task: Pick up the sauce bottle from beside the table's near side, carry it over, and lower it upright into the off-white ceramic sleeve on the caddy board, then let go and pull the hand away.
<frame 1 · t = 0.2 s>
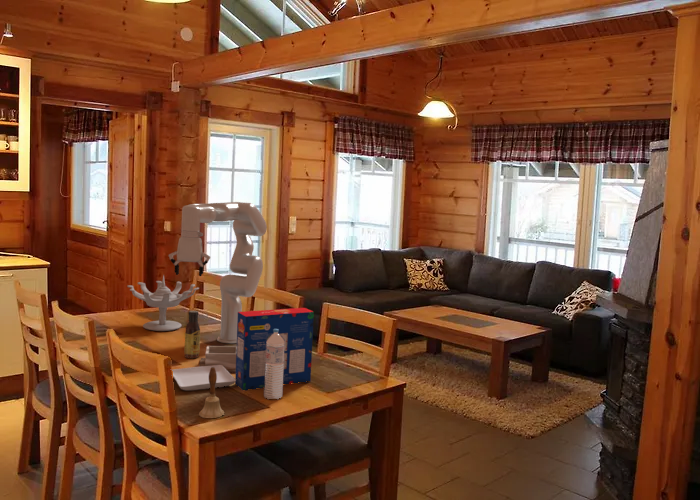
hand: (188, 275, 270), 35 cm above the table, tool pointing down, fingers open, 9 cm apart
blue cardboard box: (273, 383, 246), on the table
salad plate: (201, 383, 242), on the table, touching bottle caddy
hand bell: (211, 414, 211), on the table
sauce bottle: (191, 357, 274), on the table
candelabra: (162, 328, 322), on the table
water bottle: (273, 397, 230), on the table
bottle caddy: (221, 366, 263), on the table
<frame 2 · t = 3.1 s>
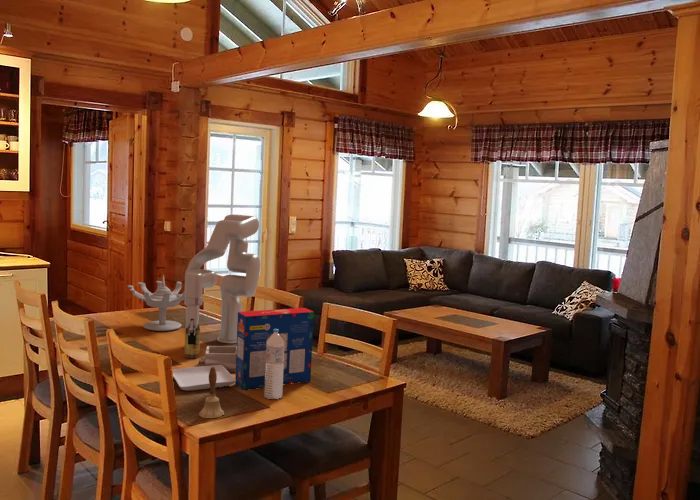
hand: (192, 341, 274), 7 cm above the table, tool pointing down, fingers closed on sauce bottle, 6 cm apart
salad plate: (201, 383, 242), on the table
sauce bottle: (191, 357, 274), on the table, touching gripper
everything else where it was.
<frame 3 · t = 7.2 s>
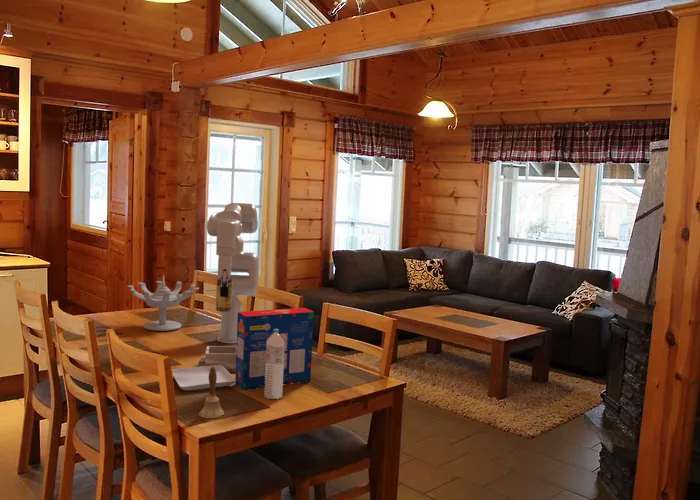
hand: (224, 294, 260), 30 cm above the table, tool pointing down, fingers closed on sauce bottle, 6 cm apart
sauce bottle: (223, 311, 260), point 23 cm above the table, touching gripper
everything else where it was.
when the fingers open (9 cm above the table, at t = 11.6 s): sauce bottle drops 1 cm, resting on bottle caddy.
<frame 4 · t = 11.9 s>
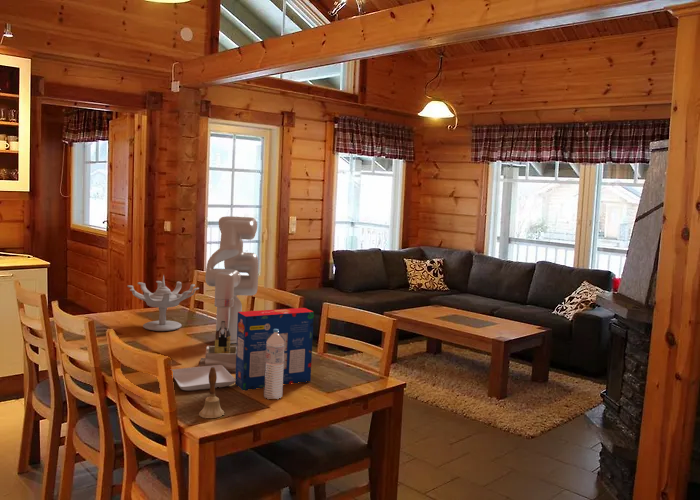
hand: (222, 343, 262), 10 cm above the table, tool pointing down, fingers open, 9 cm apart
sauce bottle: (221, 364, 263), point 1 cm above the table, touching bottle caddy
everything else where it was.
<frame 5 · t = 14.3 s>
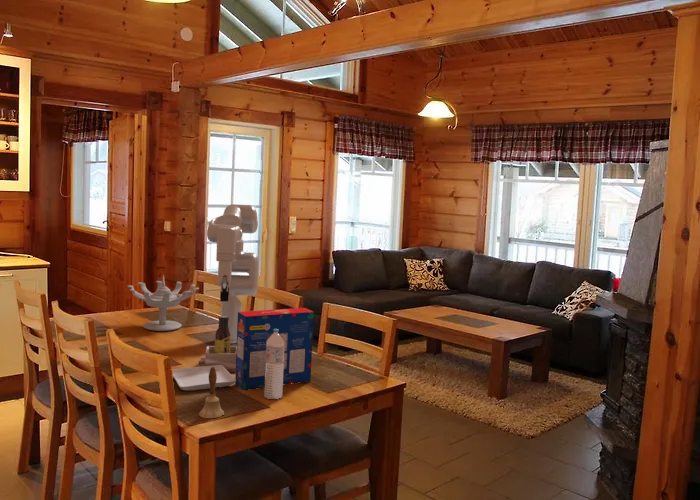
hand: (224, 298, 260), 28 cm above the table, tool pointing down, fingers open, 9 cm apart
nothing on the table moved.
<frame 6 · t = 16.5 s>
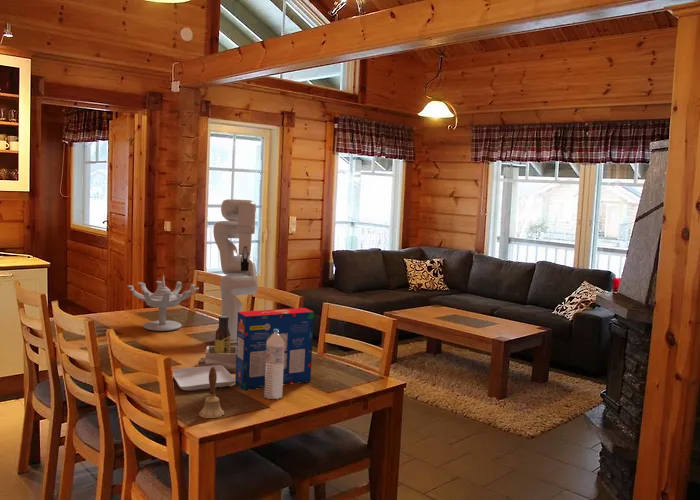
hand: (244, 269, 277), 38 cm above the table, tool pointing down, fingers open, 9 cm apart
nothing on the table moved.
at the end: sauce bottle inside the target area on the bottle caddy (0.6 cm from its centre), point 0.8 cm above the bottle caddy's base; sauce bottle tilted 0°; the gripper is holding nothing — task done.
